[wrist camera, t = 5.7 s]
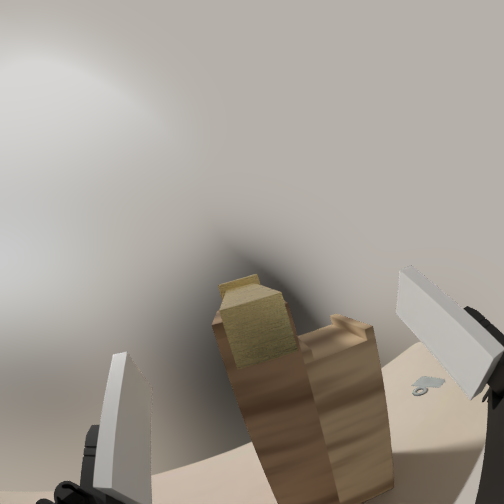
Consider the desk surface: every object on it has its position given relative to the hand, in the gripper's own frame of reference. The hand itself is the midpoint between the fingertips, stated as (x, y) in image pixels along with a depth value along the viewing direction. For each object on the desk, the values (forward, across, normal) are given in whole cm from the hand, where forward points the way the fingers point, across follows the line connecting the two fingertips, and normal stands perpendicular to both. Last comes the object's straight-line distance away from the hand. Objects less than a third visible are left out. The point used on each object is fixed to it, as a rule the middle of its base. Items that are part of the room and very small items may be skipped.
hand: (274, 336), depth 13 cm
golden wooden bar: (+10, -1, -7) cm, 12 cm away
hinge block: (-1, +2, -29) cm, 29 cm away
